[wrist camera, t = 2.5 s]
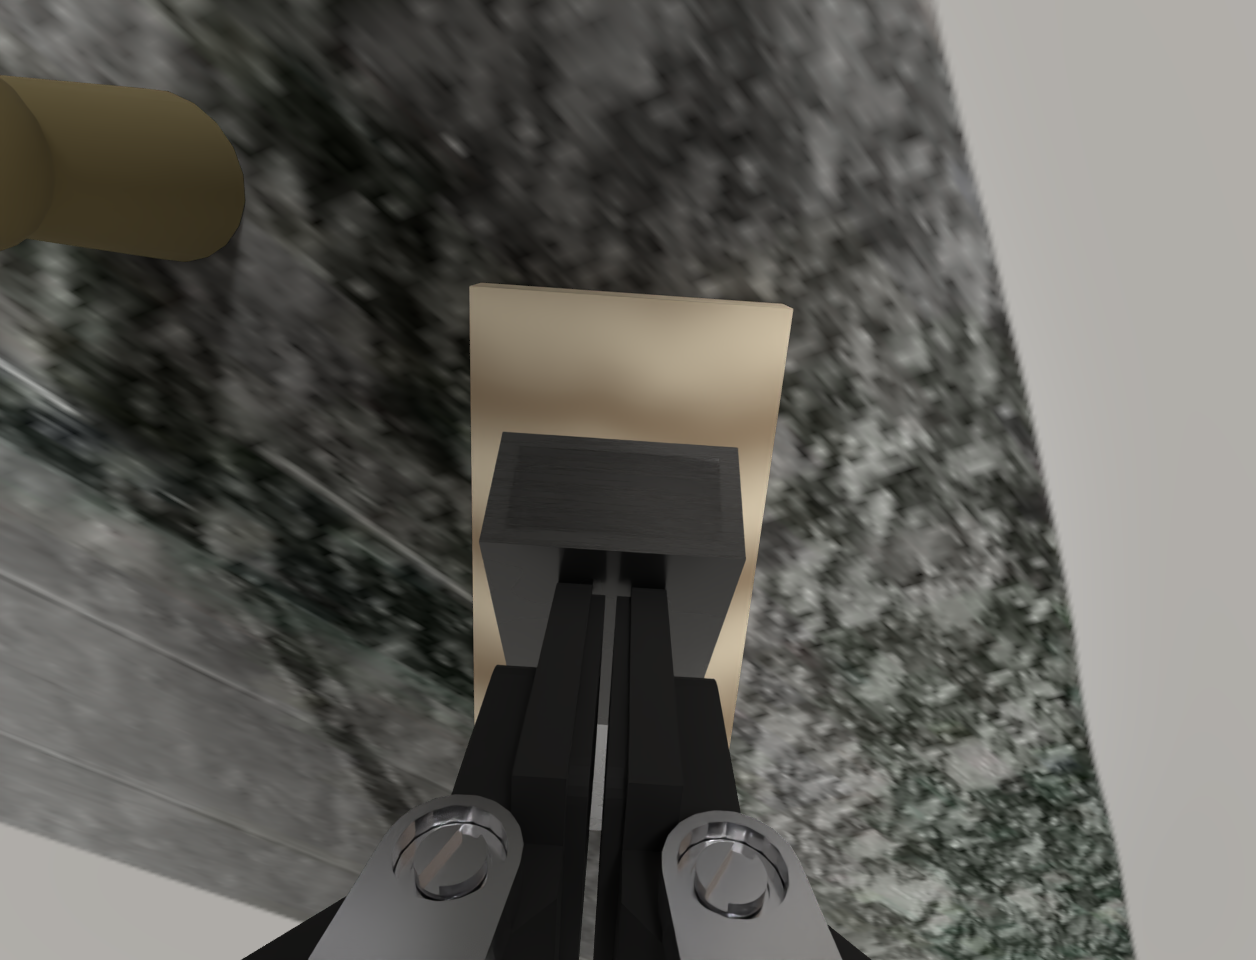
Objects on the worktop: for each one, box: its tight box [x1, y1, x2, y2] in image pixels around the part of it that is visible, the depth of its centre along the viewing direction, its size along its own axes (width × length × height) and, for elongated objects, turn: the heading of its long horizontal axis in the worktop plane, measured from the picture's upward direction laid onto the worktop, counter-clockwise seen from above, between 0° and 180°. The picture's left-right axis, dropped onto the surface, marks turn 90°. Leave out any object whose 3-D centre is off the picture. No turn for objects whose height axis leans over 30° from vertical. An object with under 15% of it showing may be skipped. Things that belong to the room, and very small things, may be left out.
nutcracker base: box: [469, 283, 793, 747], centre depth 25 cm, size 21×12×12 cm, turn 176°
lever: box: [479, 432, 746, 830], centre depth 18 cm, size 19×4×4 cm
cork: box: [0, 75, 245, 262], centre depth 21 cm, size 6×6×11 cm
